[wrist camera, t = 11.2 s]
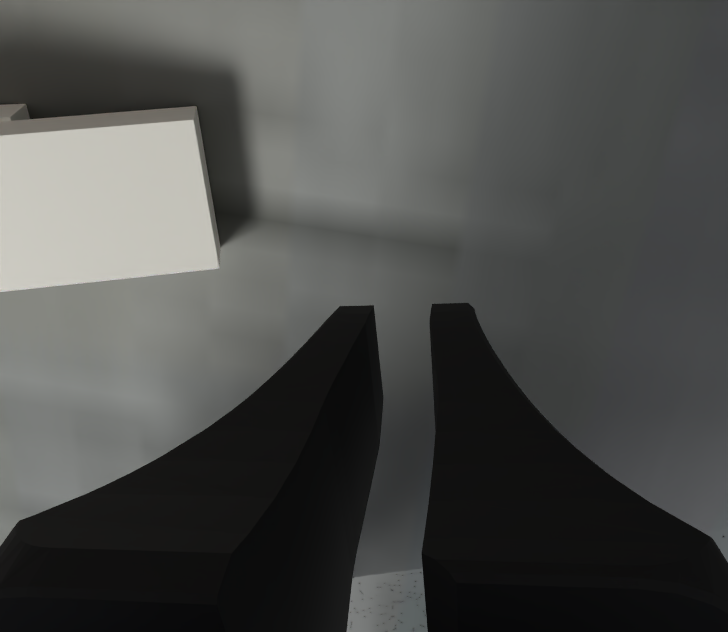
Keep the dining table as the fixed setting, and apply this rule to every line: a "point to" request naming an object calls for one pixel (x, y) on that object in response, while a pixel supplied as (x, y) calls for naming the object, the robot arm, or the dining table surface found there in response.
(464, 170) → the dining table surface
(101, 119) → the domino
